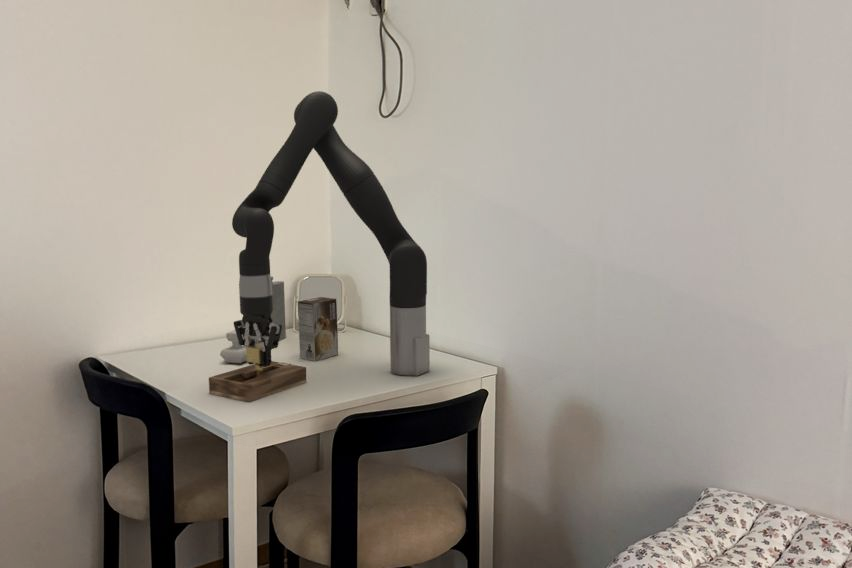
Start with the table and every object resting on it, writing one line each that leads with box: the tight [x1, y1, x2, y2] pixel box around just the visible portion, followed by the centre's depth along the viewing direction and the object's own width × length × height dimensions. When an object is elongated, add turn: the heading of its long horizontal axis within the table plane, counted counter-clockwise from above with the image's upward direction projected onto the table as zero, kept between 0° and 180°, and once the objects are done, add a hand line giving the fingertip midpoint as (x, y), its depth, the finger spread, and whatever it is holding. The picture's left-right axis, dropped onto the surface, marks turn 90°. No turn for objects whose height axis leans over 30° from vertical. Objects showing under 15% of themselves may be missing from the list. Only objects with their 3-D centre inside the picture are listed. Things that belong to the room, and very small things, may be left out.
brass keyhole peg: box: [246, 344, 263, 379], centre depth 181 cm, size 4×4×9 cm
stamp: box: [219, 329, 247, 364], centre depth 206 cm, size 9×7×8 cm
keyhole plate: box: [208, 360, 307, 403], centre depth 182 cm, size 13×19×4 cm
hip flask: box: [256, 276, 287, 345], centre depth 229 cm, size 16×4×20 cm, turn 153°
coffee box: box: [297, 296, 339, 362], centre depth 211 cm, size 9×6×16 cm
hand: (259, 364), depth 181 cm, fingers closed on brass keyhole peg, 4 cm apart
